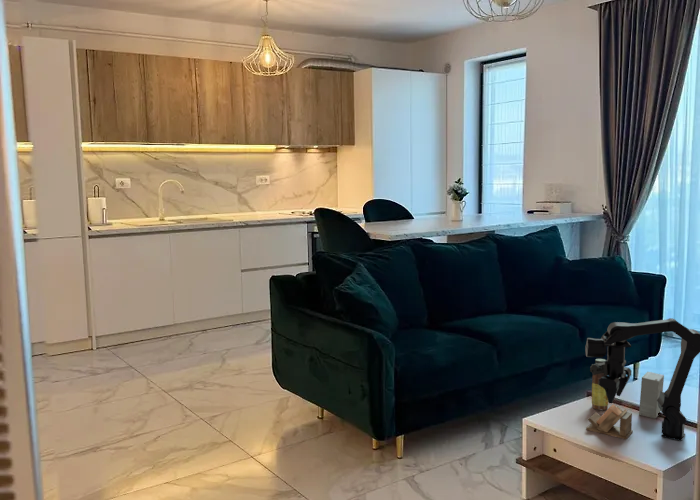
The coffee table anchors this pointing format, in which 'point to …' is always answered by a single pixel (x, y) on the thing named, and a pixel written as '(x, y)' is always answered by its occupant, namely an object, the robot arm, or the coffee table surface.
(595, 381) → the sauce bottle
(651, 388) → the skincare box
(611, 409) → the peg
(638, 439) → the coffee table surface
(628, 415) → the cradle
